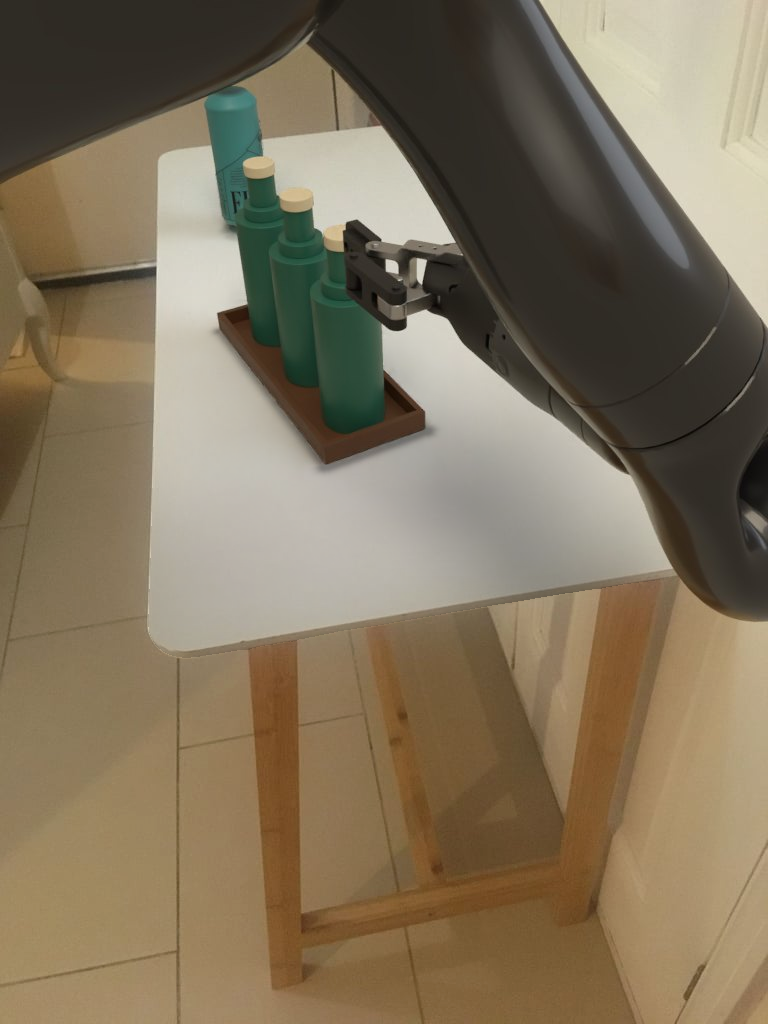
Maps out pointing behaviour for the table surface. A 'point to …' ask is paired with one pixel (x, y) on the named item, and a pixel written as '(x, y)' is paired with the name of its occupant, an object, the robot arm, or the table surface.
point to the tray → (318, 397)
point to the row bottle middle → (297, 284)
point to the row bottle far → (260, 247)
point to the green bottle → (345, 348)
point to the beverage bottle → (233, 144)
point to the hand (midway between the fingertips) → (406, 219)
